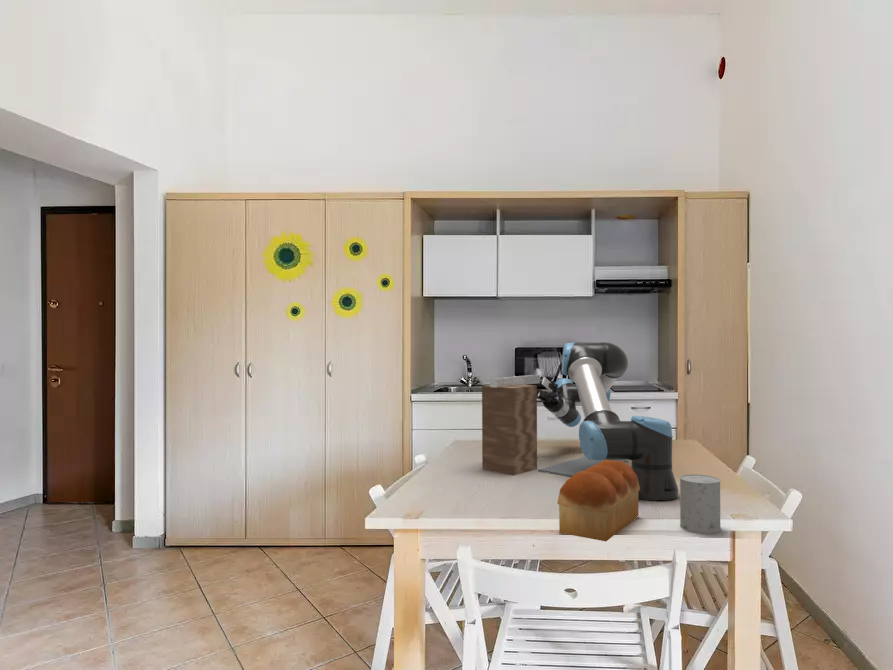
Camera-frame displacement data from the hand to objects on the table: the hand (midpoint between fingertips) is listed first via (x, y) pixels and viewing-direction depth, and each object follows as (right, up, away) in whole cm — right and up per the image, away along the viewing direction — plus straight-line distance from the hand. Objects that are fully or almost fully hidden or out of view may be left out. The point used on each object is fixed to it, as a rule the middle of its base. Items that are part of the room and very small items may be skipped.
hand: (528, 379), depth 237 cm
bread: (+9, -32, -75) cm, 82 cm away
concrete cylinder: (+33, -32, -78) cm, 90 cm away
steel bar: (-5, -2, -6) cm, 8 cm away
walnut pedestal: (-8, -32, -9) cm, 34 cm away
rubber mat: (+20, -31, -5) cm, 38 cm away
